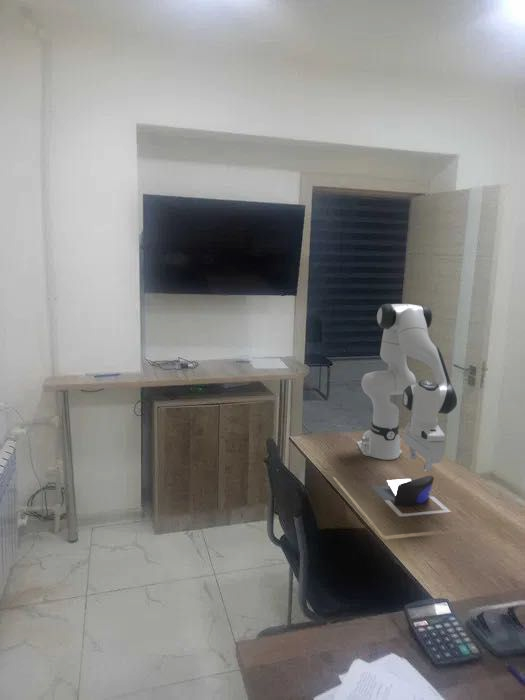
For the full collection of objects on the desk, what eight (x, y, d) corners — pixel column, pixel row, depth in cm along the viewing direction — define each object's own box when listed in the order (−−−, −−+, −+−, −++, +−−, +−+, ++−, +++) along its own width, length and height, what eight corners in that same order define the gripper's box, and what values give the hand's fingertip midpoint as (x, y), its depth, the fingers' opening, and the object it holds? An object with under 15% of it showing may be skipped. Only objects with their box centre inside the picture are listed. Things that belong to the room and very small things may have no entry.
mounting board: (370, 489, 194) (371, 486, 194) (417, 486, 199) (418, 483, 199) (399, 519, 173) (399, 516, 173) (451, 514, 177) (451, 511, 177)
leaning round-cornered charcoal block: (400, 512, 178) (406, 491, 174) (392, 504, 182) (397, 483, 178) (434, 501, 185) (440, 481, 182) (426, 493, 189) (431, 473, 185)
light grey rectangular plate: (385, 482, 193) (386, 480, 192) (409, 480, 195) (410, 478, 195) (395, 498, 186) (396, 496, 185) (419, 496, 188) (420, 494, 187)
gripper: (400, 418, 185) (397, 453, 187) (431, 438, 165) (427, 477, 168) (416, 417, 186) (412, 452, 189) (448, 437, 167) (443, 476, 169)
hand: (419, 464), depth 178 cm, fingers open, 8 cm apart
